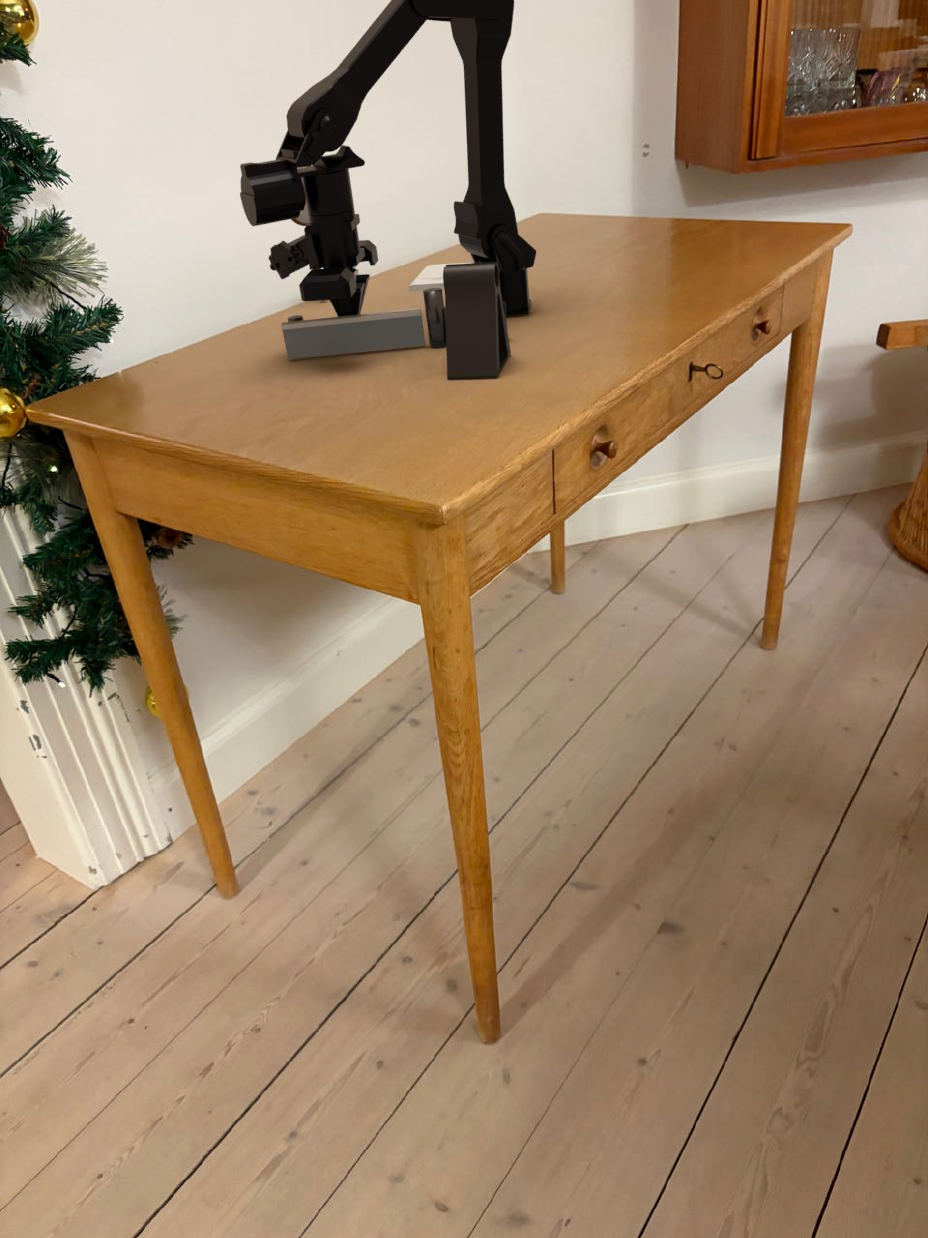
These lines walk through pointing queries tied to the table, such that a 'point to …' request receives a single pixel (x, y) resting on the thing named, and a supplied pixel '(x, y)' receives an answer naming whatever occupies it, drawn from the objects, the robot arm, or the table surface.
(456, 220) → the robot arm
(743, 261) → the table surface
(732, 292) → the table surface
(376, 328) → the grey flat bar
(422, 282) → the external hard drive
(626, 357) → the table surface
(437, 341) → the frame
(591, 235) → the table surface
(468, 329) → the phone stand
